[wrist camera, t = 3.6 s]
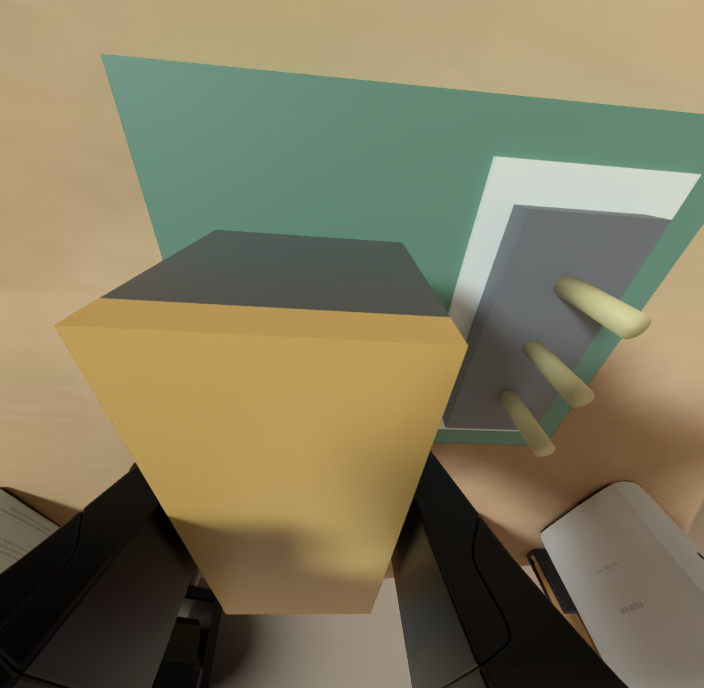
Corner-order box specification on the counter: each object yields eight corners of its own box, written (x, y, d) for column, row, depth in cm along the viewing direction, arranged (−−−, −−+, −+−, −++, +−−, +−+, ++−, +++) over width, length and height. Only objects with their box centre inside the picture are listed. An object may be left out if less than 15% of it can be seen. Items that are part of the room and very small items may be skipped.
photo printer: (612, 475, 23) (835, 744, 12) (652, 483, 23) (894, 742, 13) (529, 532, 28) (636, 752, 18) (564, 537, 29) (686, 750, 18)
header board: (531, 426, 19) (593, 517, 14) (225, 416, 18) (182, 512, 13) (722, 125, 10) (1061, 100, 5) (134, 67, 9) (-105, -30, 4)
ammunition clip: (525, 555, 31) (610, 744, 21) (532, 548, 30) (624, 743, 20) (619, 555, 32) (745, 739, 22) (629, 547, 31) (766, 738, 21)
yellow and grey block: (363, 478, 11) (370, 613, 8) (261, 476, 11) (226, 614, 8) (402, 242, 6) (467, 344, 3) (216, 229, 6) (55, 325, 3)
